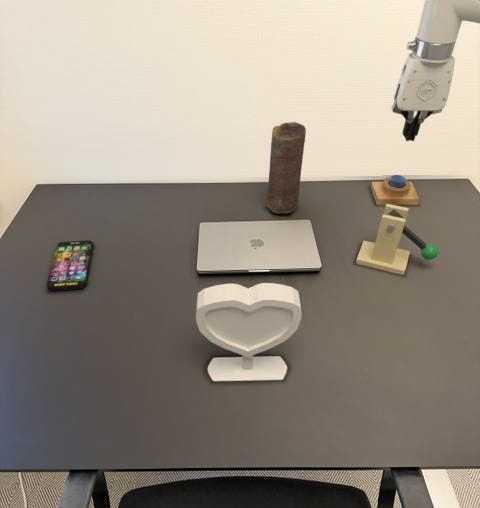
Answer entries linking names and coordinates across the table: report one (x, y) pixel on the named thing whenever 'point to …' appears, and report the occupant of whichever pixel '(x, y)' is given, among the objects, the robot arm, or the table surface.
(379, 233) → the switch bracket
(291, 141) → the rusty metal cylinder
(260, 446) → the table surface
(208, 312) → the heart sculpture
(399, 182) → the button
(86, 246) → the smartphone
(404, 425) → the table surface
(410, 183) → the button block
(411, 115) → the robot arm
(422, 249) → the lever
